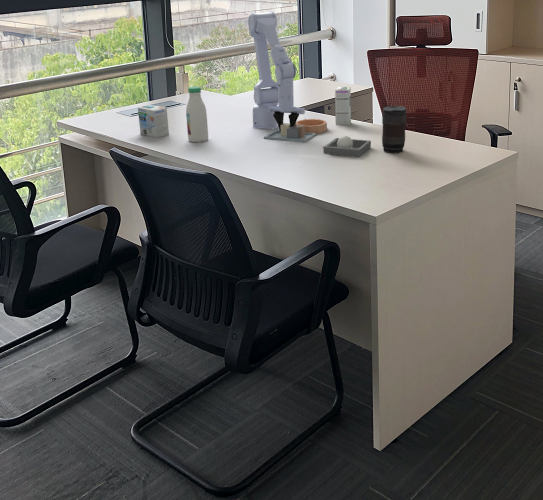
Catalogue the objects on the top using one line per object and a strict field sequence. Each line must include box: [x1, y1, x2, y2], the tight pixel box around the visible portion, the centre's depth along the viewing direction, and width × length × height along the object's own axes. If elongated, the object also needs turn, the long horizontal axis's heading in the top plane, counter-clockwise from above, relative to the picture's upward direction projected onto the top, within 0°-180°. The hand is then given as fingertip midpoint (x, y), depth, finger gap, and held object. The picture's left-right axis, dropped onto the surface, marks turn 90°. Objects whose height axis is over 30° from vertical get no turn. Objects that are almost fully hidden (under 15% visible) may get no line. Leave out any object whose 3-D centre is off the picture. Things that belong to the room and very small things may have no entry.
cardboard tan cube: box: [294, 125, 305, 137], centre depth 256 cm, size 4×4×4 cm
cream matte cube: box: [281, 122, 290, 136], centre depth 259 cm, size 4×4×4 cm
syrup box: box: [334, 86, 352, 127], centre depth 272 cm, size 6×6×14 cm
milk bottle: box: [185, 86, 209, 143], centre depth 255 cm, size 8×8×20 cm
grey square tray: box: [323, 137, 372, 158], centre depth 237 cm, size 13×13×3 cm
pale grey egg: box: [336, 135, 353, 149], centre depth 237 cm, size 8×6×6 cm
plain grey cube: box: [287, 127, 299, 139], centre depth 254 cm, size 4×4×4 cm
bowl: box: [295, 118, 328, 134], centre depth 265 cm, size 12×12×3 cm
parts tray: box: [263, 129, 317, 143], centre depth 257 cm, size 17×11×1 cm, turn 65°
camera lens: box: [381, 105, 407, 154], centre depth 233 cm, size 8×8×15 cm
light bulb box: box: [137, 104, 170, 138], centre depth 268 cm, size 11×7×11 cm, turn 47°
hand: (286, 131), depth 259 cm, fingers open, 4 cm apart
